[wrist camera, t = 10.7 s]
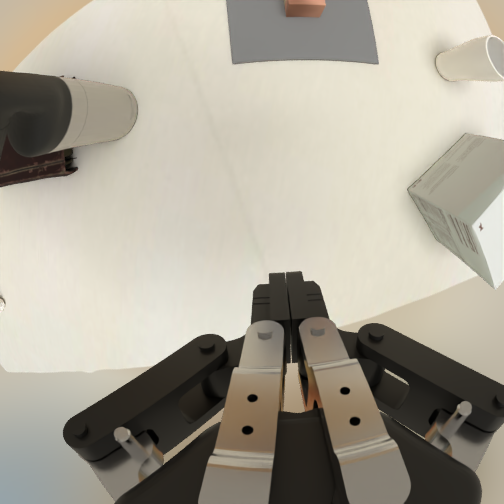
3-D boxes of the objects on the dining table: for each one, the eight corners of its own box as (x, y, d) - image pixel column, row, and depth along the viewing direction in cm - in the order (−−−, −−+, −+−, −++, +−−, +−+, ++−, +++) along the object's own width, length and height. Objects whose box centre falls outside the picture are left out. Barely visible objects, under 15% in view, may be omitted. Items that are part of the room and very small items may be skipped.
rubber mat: (233, 64, 34) (232, 63, 34) (222, -41, 25) (222, -42, 25) (377, 64, 33) (378, 63, 32) (354, -39, 24) (355, -41, 23)
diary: (80, 171, 42) (64, 177, 38) (5, 184, 43) (-10, 191, 39) (77, 73, 34) (61, 70, 30) (0, 106, 35) (-16, 108, 31)
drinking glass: (445, 44, 29) (498, 29, 15) (465, 76, 31) (521, 72, 17) (424, 57, 31) (478, 41, 17) (445, 91, 33) (503, 88, 19)
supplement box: (437, 243, 44) (493, 293, 28) (404, 188, 41) (470, 226, 24) (490, 187, 39) (553, 218, 22) (464, 130, 35) (536, 144, 19)
